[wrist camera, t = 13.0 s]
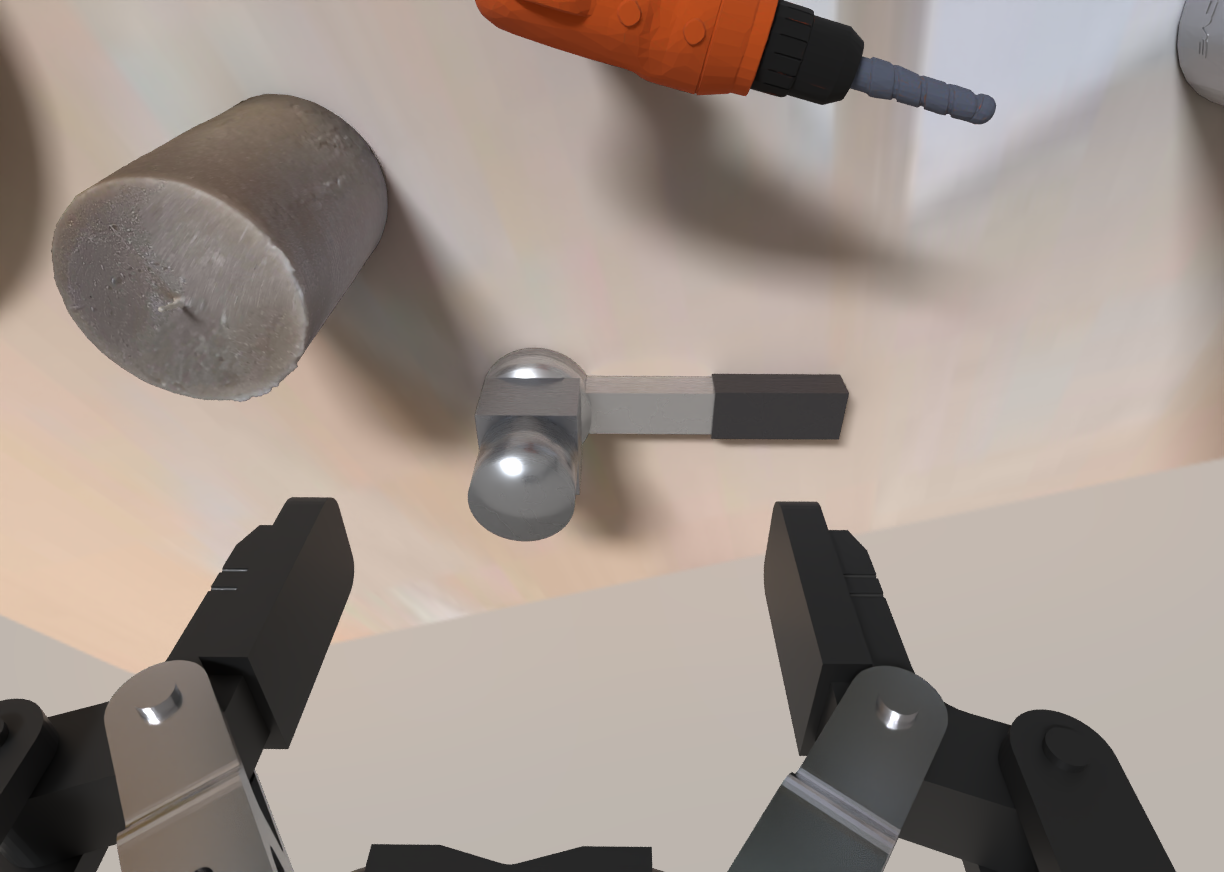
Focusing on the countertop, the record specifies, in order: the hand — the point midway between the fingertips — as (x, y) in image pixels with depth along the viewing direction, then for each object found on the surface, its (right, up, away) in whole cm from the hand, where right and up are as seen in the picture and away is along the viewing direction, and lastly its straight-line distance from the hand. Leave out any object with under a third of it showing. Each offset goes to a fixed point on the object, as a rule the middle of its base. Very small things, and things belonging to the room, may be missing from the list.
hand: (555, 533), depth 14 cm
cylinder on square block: (-4, +3, +32) cm, 32 cm away
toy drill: (+5, +22, +21) cm, 31 cm away
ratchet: (+4, +4, +34) cm, 34 cm away
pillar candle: (-16, +15, +27) cm, 34 cm away
